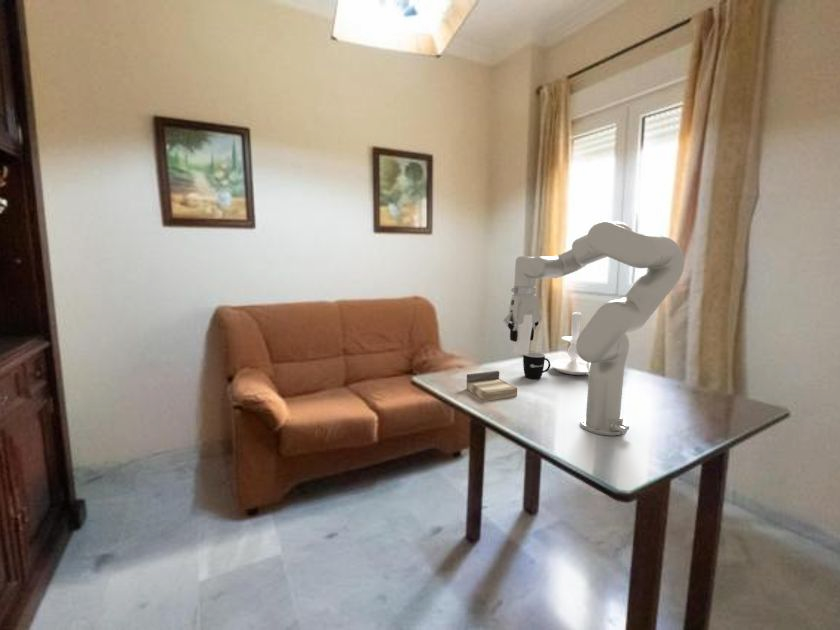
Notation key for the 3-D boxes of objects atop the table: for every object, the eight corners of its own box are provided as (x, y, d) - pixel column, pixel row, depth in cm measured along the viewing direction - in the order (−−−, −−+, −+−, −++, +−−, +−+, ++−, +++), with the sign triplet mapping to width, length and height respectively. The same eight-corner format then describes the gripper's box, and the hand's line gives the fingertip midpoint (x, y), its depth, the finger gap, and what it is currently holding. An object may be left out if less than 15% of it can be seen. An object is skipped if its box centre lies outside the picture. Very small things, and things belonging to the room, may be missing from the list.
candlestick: (572, 383, 168) (576, 317, 164) (540, 367, 191) (543, 308, 187) (614, 380, 173) (619, 315, 169) (578, 364, 197) (581, 307, 192)
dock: (517, 396, 153) (517, 380, 152) (484, 400, 148) (485, 385, 147) (496, 384, 166) (497, 370, 165) (466, 389, 161) (466, 374, 160)
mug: (526, 380, 172) (527, 357, 170) (519, 374, 180) (520, 352, 179) (553, 379, 173) (555, 356, 171) (545, 373, 182) (546, 351, 180)
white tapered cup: (507, 352, 150) (510, 312, 147) (521, 350, 153) (524, 311, 150) (519, 356, 144) (522, 315, 141) (534, 354, 147) (537, 314, 144)
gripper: (509, 293, 138) (507, 344, 141) (551, 291, 144) (547, 340, 147) (498, 290, 145) (495, 339, 148) (538, 289, 151) (534, 336, 154)
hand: (521, 339), depth 148 cm, fingers closed on white tapered cup, 6 cm apart
